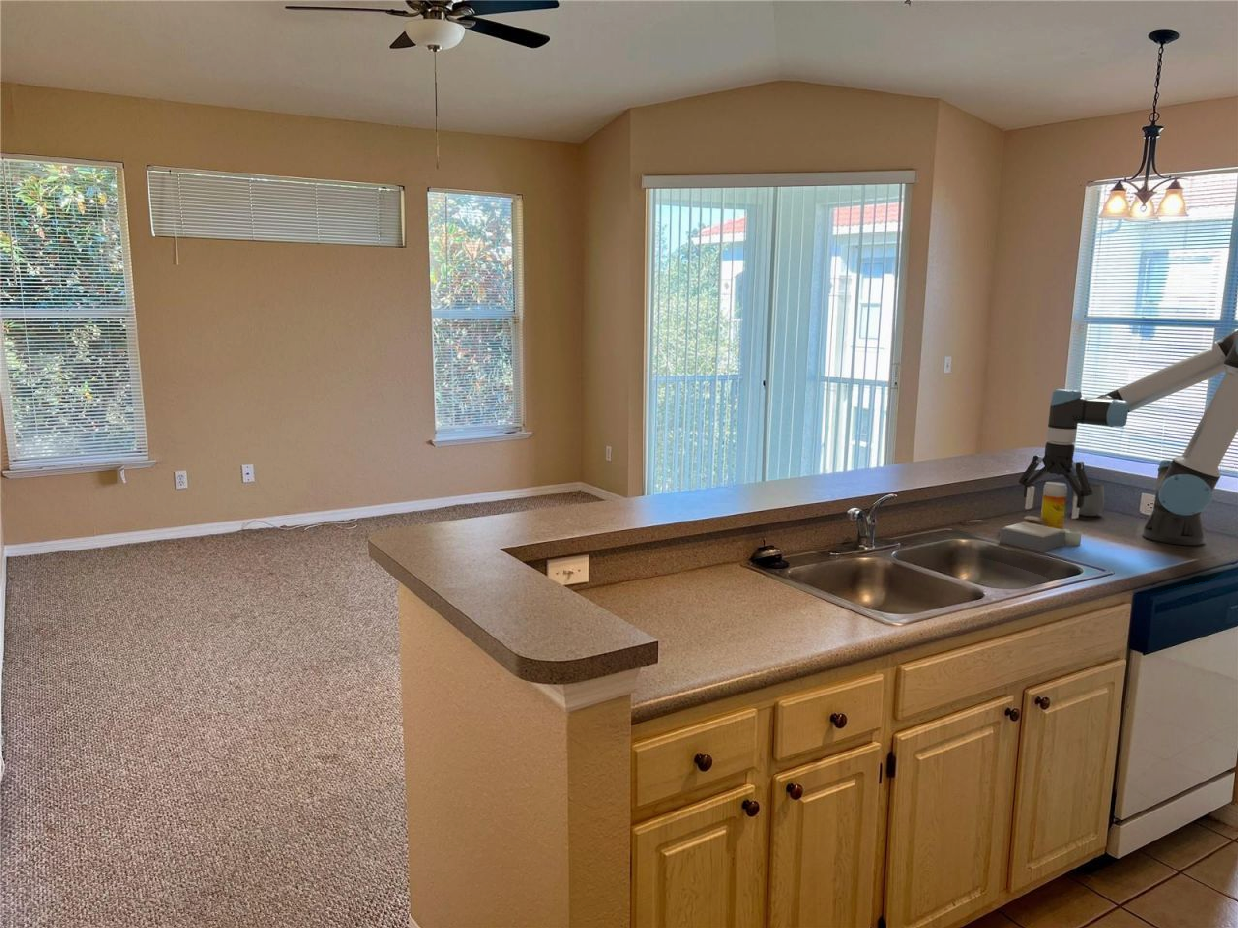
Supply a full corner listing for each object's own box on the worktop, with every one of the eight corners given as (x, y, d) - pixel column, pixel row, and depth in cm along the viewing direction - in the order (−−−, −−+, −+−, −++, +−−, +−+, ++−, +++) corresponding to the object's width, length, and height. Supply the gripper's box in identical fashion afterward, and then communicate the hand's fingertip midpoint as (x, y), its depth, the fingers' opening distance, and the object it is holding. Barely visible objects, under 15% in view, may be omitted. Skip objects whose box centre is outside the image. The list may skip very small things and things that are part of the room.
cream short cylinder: (1084, 544, 238) (1085, 532, 238) (1074, 547, 235) (1075, 535, 234) (1062, 539, 243) (1064, 527, 242) (1052, 542, 239) (1053, 530, 239)
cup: (1109, 516, 273) (1113, 486, 271) (1092, 519, 268) (1096, 488, 266) (1081, 510, 281) (1084, 480, 279) (1064, 512, 276) (1067, 483, 274)
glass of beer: (1061, 536, 246) (1067, 486, 243) (1038, 533, 248) (1043, 484, 246) (1062, 532, 251) (1067, 483, 248) (1039, 529, 254) (1044, 480, 251)
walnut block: (1043, 534, 248) (1045, 518, 247) (1040, 538, 244) (1041, 521, 243) (1025, 532, 251) (1027, 515, 250) (1021, 535, 247) (1023, 518, 246)
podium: (1063, 545, 236) (1065, 529, 235) (1042, 552, 229) (1044, 535, 228) (1021, 536, 245) (1023, 520, 245) (1000, 542, 238) (1001, 526, 237)
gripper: (1111, 447, 237) (1101, 520, 241) (1024, 435, 257) (1016, 503, 261) (1099, 449, 233) (1089, 524, 237) (1012, 437, 252) (1004, 506, 256)
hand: (1051, 513), depth 249 cm, fingers open, 13 cm apart
